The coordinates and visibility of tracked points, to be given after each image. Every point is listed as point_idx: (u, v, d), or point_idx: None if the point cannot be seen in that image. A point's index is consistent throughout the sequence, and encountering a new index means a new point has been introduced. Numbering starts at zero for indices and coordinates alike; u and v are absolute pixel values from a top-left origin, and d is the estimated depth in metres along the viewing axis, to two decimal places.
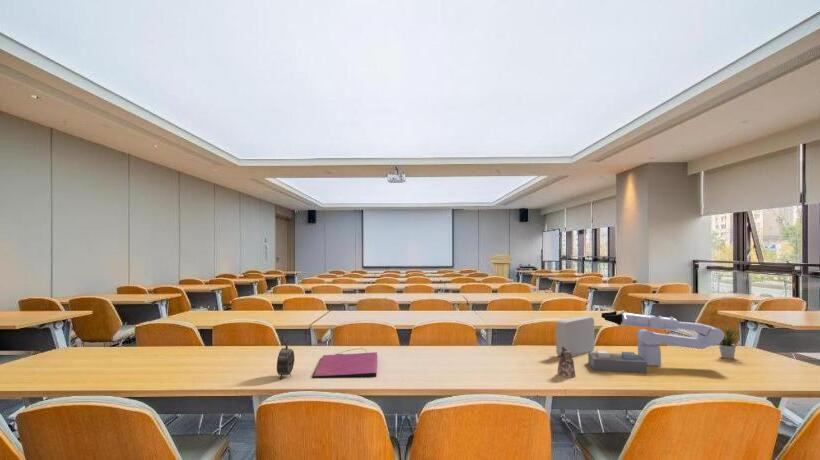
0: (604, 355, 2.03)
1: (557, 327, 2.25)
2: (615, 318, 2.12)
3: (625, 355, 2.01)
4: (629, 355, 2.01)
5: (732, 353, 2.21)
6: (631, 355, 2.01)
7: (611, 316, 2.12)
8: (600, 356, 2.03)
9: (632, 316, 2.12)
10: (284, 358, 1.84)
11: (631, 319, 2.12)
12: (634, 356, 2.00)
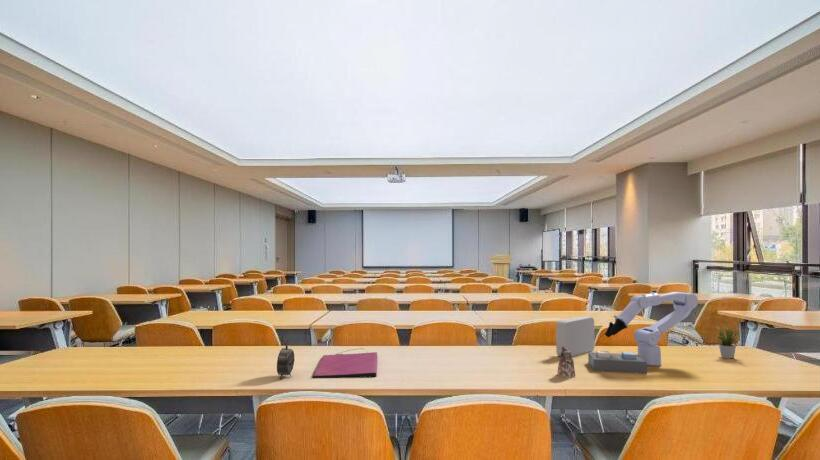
0: (604, 355, 2.03)
1: (557, 327, 2.25)
2: (618, 326, 2.06)
3: (625, 355, 2.01)
4: (629, 355, 2.01)
5: (732, 353, 2.21)
6: (631, 355, 2.01)
7: (614, 327, 2.06)
8: (600, 356, 2.03)
9: (624, 312, 2.10)
10: (284, 358, 1.84)
11: (627, 315, 2.09)
12: (634, 356, 2.00)
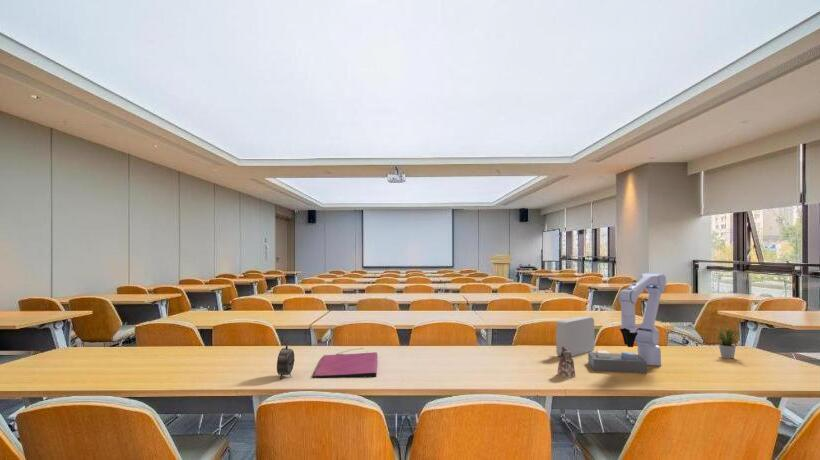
0: (604, 355, 2.03)
1: (557, 327, 2.25)
2: (629, 336, 2.00)
3: (625, 355, 2.01)
4: (629, 355, 2.01)
5: (732, 353, 2.21)
6: (631, 355, 2.01)
7: (628, 340, 2.00)
8: (600, 356, 2.03)
9: (625, 318, 2.02)
10: (284, 358, 1.84)
11: (628, 320, 2.01)
12: (634, 356, 2.00)
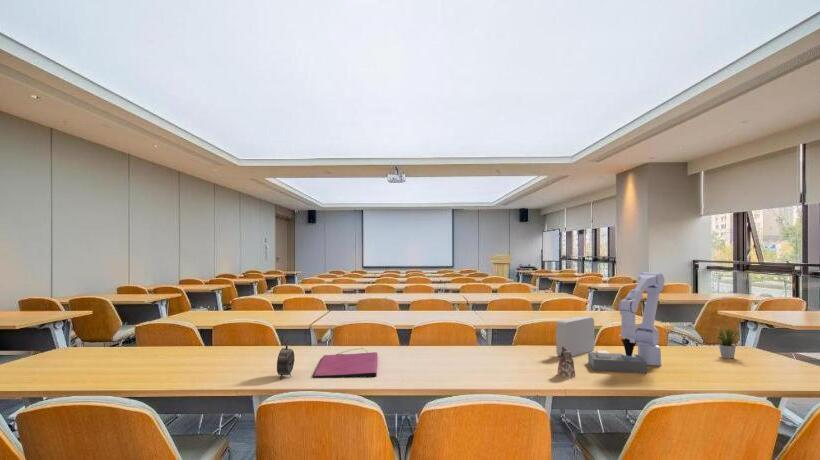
0: (604, 355, 2.03)
1: (557, 327, 2.25)
2: (628, 345, 2.02)
3: (625, 357, 2.01)
4: (629, 357, 2.01)
5: (732, 353, 2.21)
6: (631, 357, 2.01)
7: (627, 349, 2.02)
8: (600, 356, 2.03)
9: (625, 328, 2.02)
10: (284, 358, 1.84)
11: (629, 330, 2.01)
12: (634, 358, 2.00)
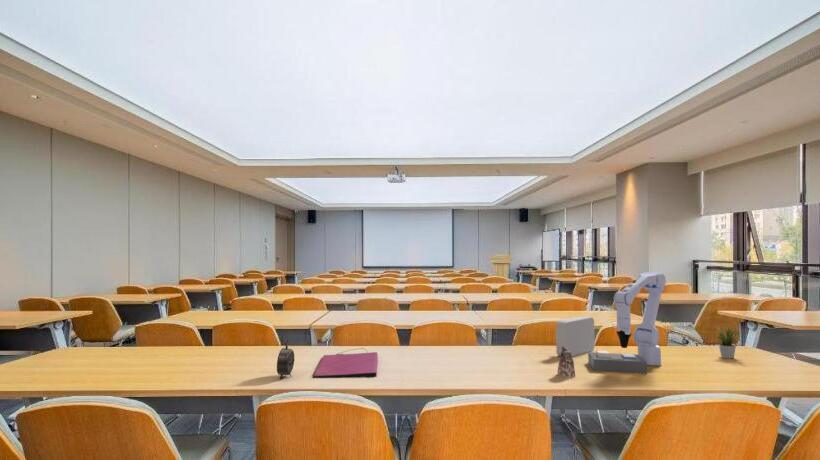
0: (604, 355, 2.03)
1: (557, 327, 2.25)
2: (623, 337, 2.03)
3: (625, 357, 2.01)
4: (629, 357, 2.01)
5: (732, 353, 2.21)
6: (631, 357, 2.01)
7: (622, 341, 2.03)
8: (600, 356, 2.03)
9: (620, 320, 2.02)
10: (284, 358, 1.84)
11: (624, 321, 2.01)
12: (634, 358, 2.00)
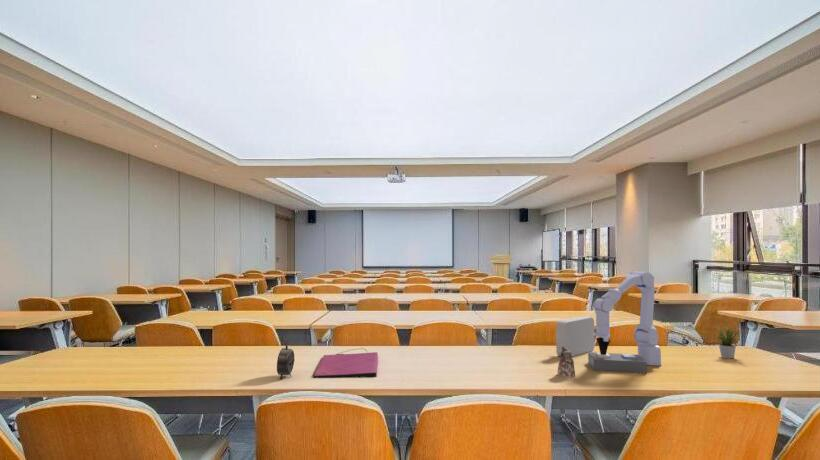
0: (604, 357, 2.03)
1: (557, 327, 2.25)
2: (602, 344, 2.05)
3: (625, 357, 2.01)
4: (629, 357, 2.01)
5: (732, 353, 2.21)
6: (631, 357, 2.01)
7: (601, 348, 2.05)
8: None
9: (599, 327, 2.04)
10: (284, 358, 1.84)
11: (603, 328, 2.03)
12: (634, 358, 2.00)
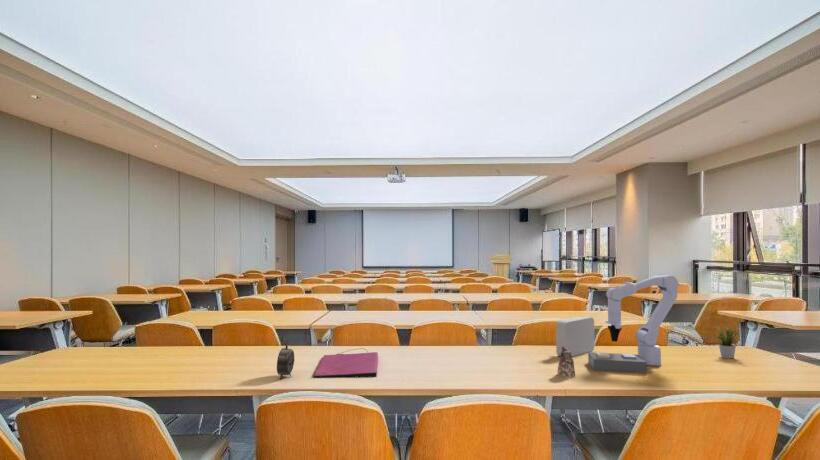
0: (604, 357, 2.03)
1: (557, 327, 2.25)
2: (614, 331, 2.13)
3: (625, 357, 2.01)
4: (629, 357, 2.01)
5: (732, 353, 2.21)
6: (631, 357, 2.01)
7: (612, 335, 2.13)
8: None
9: (611, 315, 2.12)
10: (284, 358, 1.84)
11: (614, 316, 2.11)
12: (634, 358, 2.00)
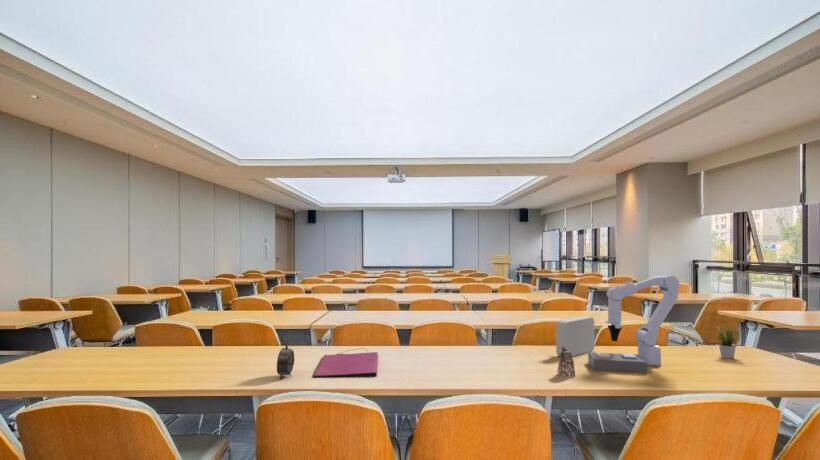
0: (604, 357, 2.03)
1: (557, 327, 2.25)
2: (614, 331, 2.13)
3: (625, 357, 2.01)
4: (629, 357, 2.01)
5: (732, 353, 2.21)
6: (631, 357, 2.01)
7: (612, 335, 2.13)
8: None
9: (611, 315, 2.13)
10: (284, 358, 1.84)
11: (614, 316, 2.12)
12: (634, 358, 2.00)
